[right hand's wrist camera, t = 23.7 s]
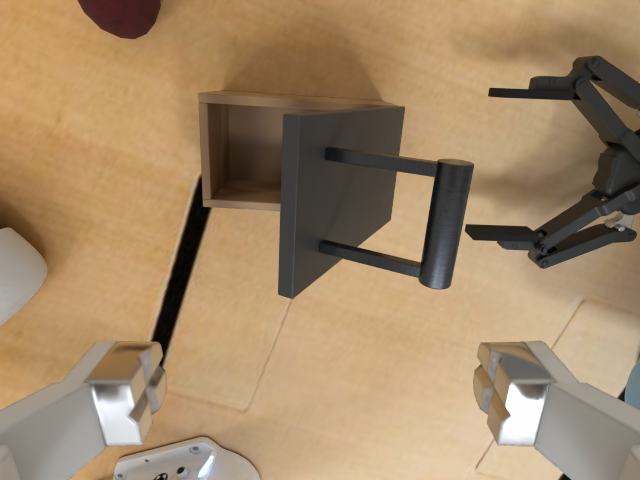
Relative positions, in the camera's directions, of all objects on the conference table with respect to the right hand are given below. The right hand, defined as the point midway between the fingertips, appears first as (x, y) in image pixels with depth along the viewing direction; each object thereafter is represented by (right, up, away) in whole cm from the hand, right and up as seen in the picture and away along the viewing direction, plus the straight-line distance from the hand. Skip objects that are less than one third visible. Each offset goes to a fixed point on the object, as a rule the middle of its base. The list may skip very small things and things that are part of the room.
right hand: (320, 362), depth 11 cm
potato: (-18, +27, +31) cm, 45 cm away
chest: (-2, +14, +36) cm, 38 cm away
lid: (+2, +7, +19) cm, 21 cm away
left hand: (+16, +10, +30) cm, 35 cm away
